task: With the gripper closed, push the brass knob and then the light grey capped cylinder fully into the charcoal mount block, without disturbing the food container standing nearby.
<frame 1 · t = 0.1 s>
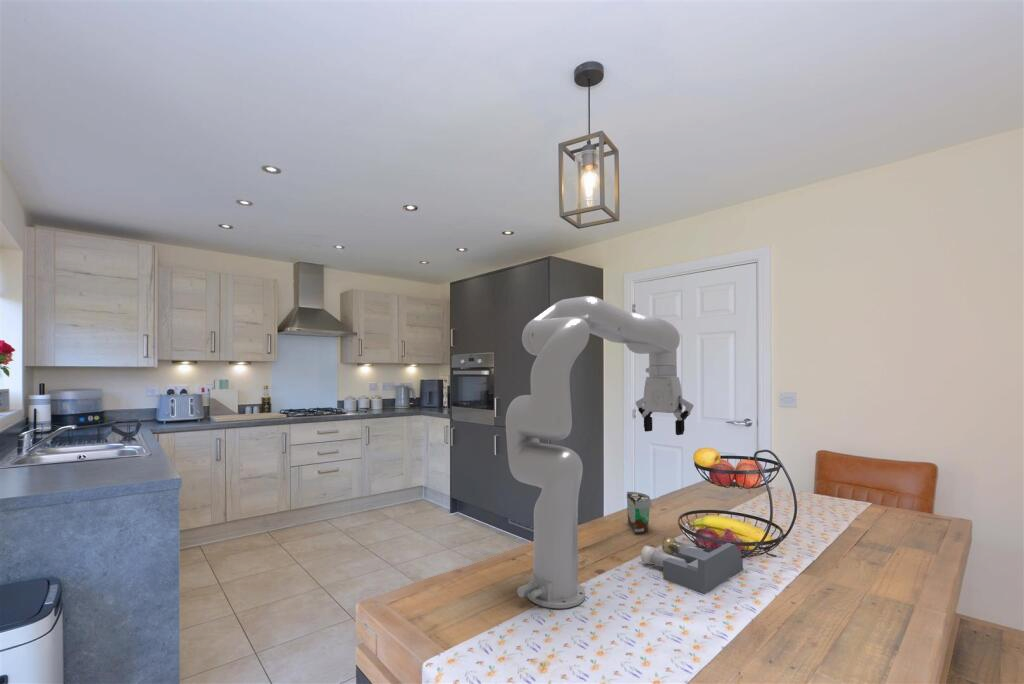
hand: (663, 432, 135), 31 cm above the table, fingers open, 9 cm apart
light grey capped cylinder: (663, 559, 117), point 2 cm above the table, slide at 5.5 cm
mount: (704, 573, 114), on the table
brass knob: (684, 549, 124), point 2 cm above the table, slide at 5.5 cm
food container: (641, 530, 146), on the table
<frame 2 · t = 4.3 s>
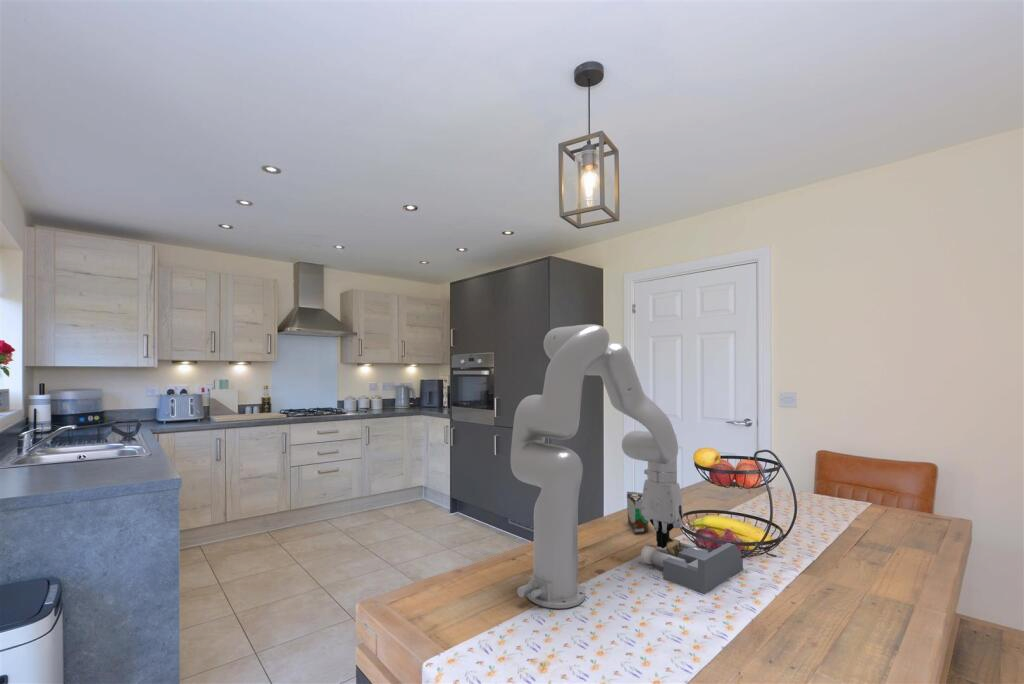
hand: (662, 546, 128), 2 cm above the table, fingers closed
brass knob: (688, 551, 123), point 2 cm above the table, slide at 4.3 cm, touching gripper
everything else where it was.
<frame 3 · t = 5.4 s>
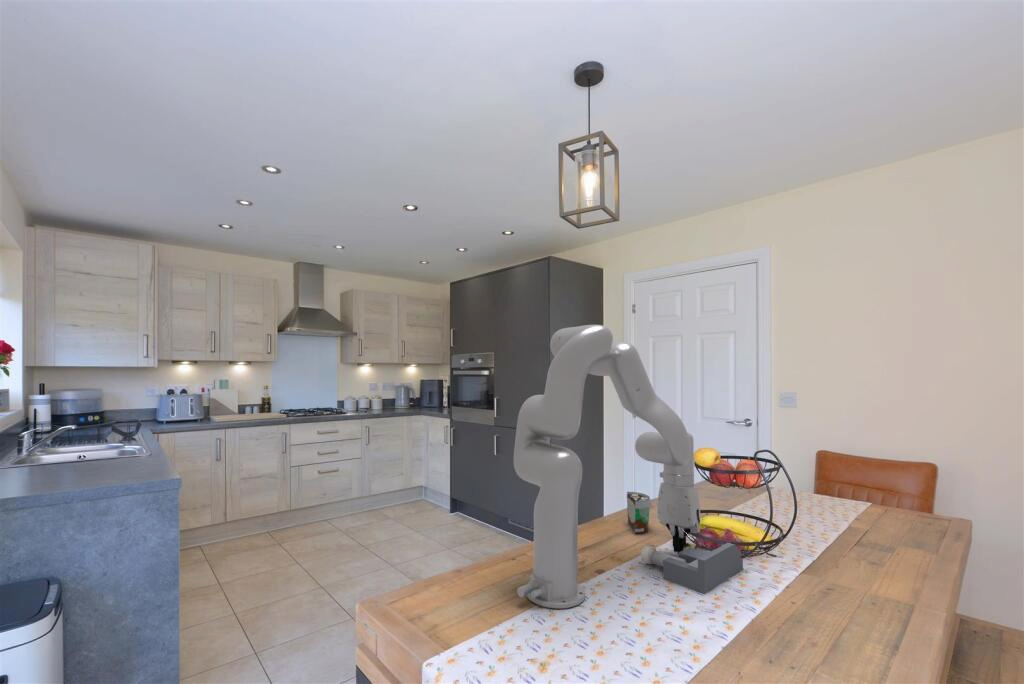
hand: (679, 551, 124), 2 cm above the table, fingers closed
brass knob: (706, 556, 119), point 2 cm above the table, slide at -0.4 cm, touching gripper
everything else where it was.
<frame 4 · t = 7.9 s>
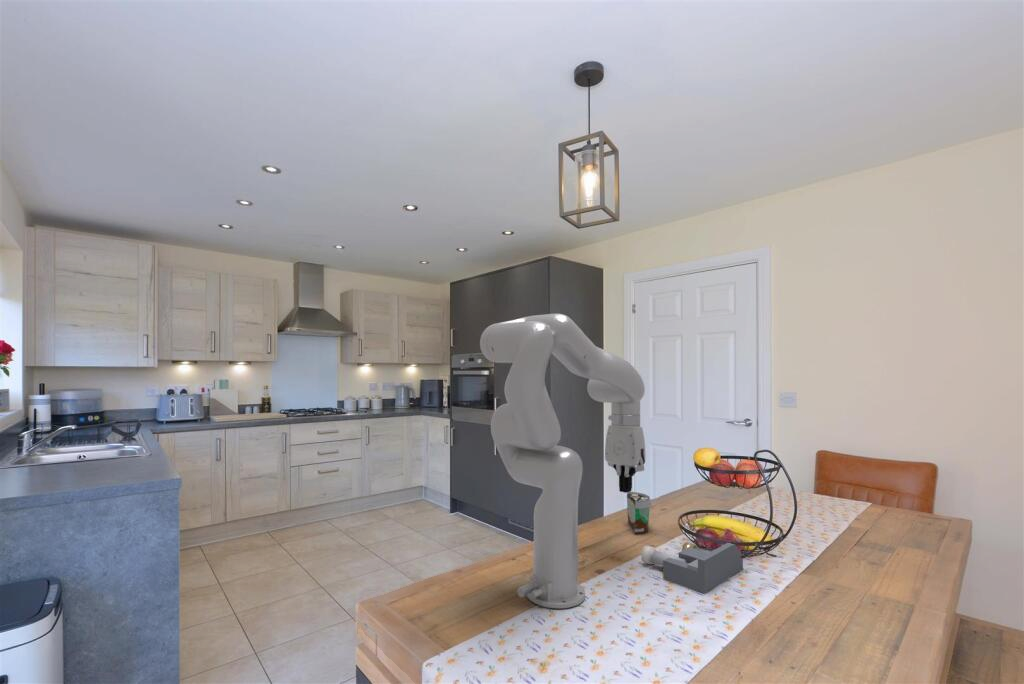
hand: (625, 491, 126), 17 cm above the table, fingers closed
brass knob: (704, 556, 120), point 2 cm above the table, slide at -0.1 cm
everything else where it was.
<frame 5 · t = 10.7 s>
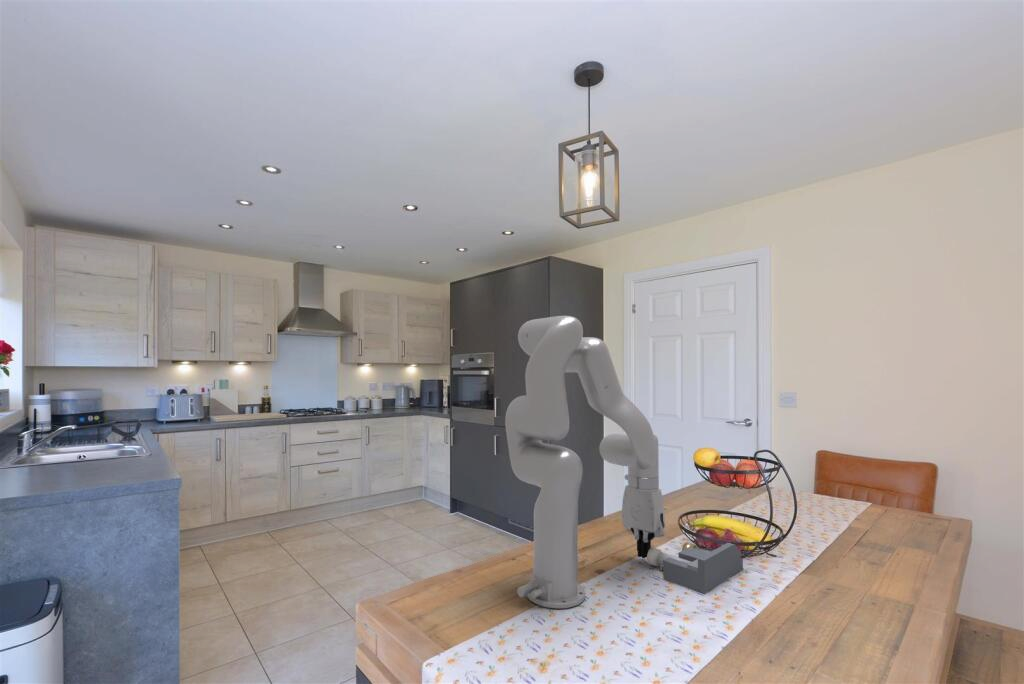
hand: (643, 556, 121), 2 cm above the table, fingers closed
light grey capped cylinder: (670, 561, 116), point 2 cm above the table, slide at 3.8 cm, touching gripper
everything else where it was.
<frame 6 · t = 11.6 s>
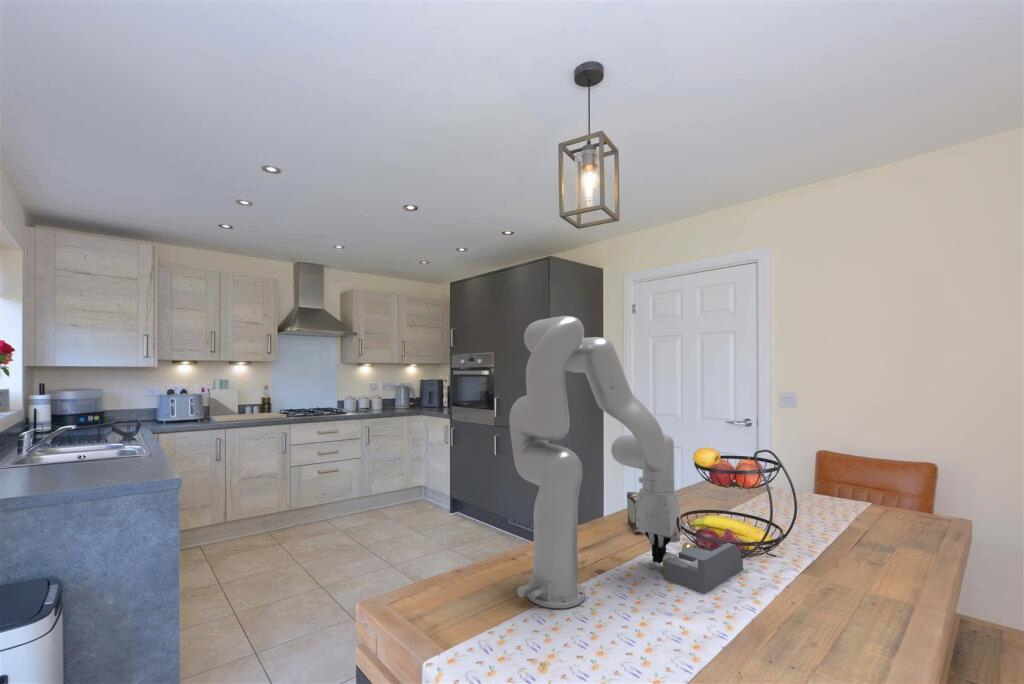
hand: (659, 561, 118), 2 cm above the table, fingers closed
light grey capped cylinder: (686, 567, 113), point 2 cm above the table, slide at -0.4 cm, touching gripper
everything else where it was.
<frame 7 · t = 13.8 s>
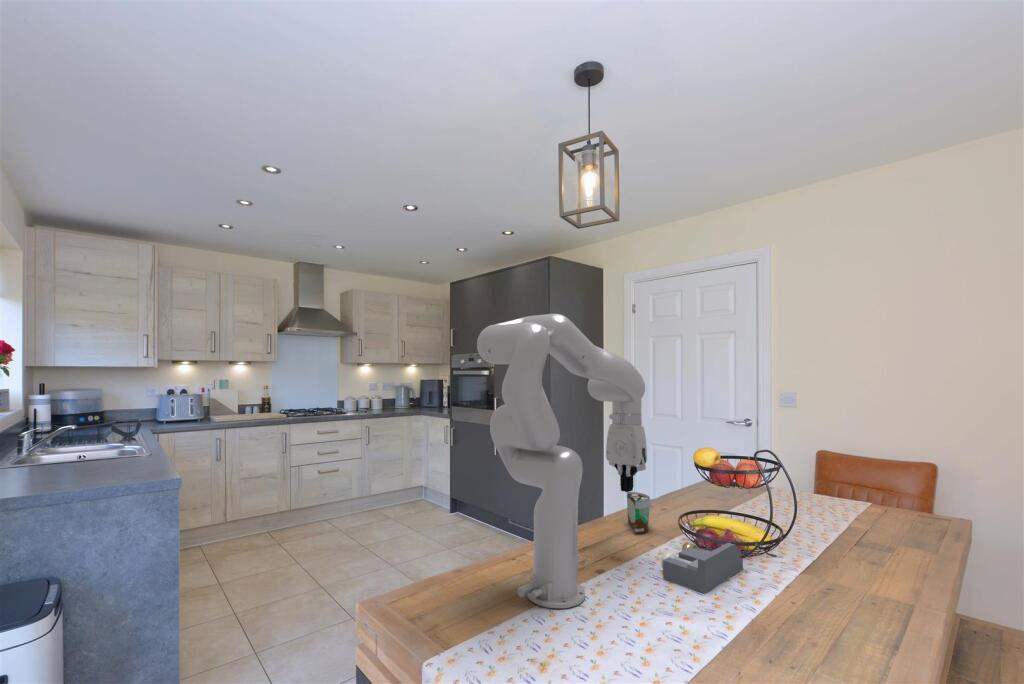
hand: (626, 490, 125), 17 cm above the table, fingers closed
light grey capped cylinder: (685, 566, 113), point 2 cm above the table, slide at -0.1 cm
everything else where it was.
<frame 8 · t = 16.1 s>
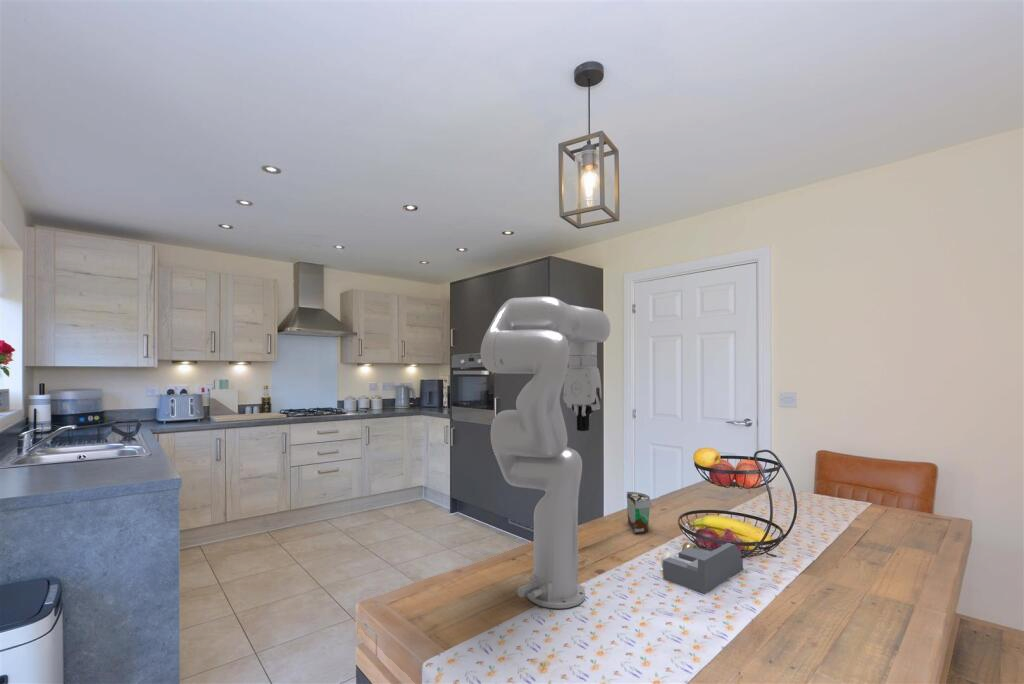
hand: (582, 430, 130), 32 cm above the table, fingers closed
nothing on the table moved.
at the end: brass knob slide at -0.1 cm; light grey capped cylinder slide at -0.1 cm; food container moved 0.2 cm from its start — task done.
